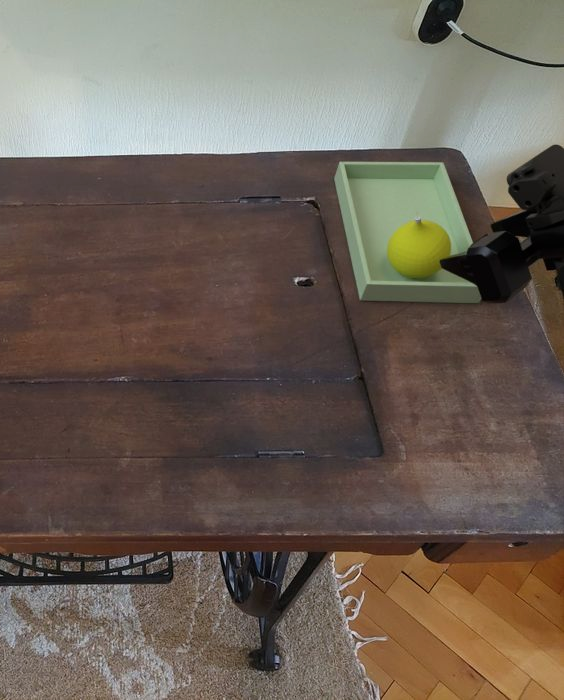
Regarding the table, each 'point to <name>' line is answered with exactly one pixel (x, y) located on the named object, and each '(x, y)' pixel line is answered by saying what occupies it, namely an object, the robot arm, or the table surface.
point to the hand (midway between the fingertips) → (467, 245)
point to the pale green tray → (391, 213)
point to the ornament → (418, 248)
